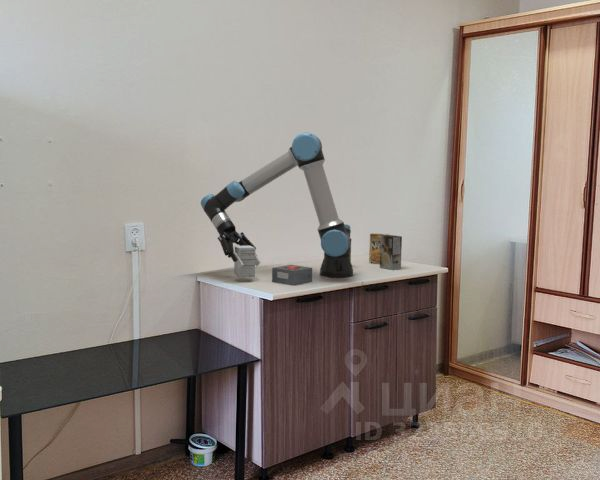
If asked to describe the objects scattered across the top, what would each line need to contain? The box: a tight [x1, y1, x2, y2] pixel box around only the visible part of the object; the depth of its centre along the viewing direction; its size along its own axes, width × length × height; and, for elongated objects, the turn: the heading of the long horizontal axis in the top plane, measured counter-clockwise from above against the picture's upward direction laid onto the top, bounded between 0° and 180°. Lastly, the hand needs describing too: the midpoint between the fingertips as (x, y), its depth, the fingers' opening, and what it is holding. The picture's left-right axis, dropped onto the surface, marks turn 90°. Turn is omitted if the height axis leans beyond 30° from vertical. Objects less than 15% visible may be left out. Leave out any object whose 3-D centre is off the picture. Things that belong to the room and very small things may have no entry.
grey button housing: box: [271, 264, 313, 286], centre depth 258 cm, size 12×12×6 cm
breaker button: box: [287, 265, 299, 269], centre depth 258 cm, size 4×4×5 cm
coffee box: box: [379, 234, 403, 271], centre depth 299 cm, size 9×6×16 cm
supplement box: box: [233, 245, 256, 279], centre depth 259 cm, size 7×7×13 cm
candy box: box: [368, 232, 390, 264], centre depth 315 cm, size 9×4×15 cm, turn 62°
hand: (250, 265), depth 257 cm, fingers closed on supplement box, 10 cm apart
